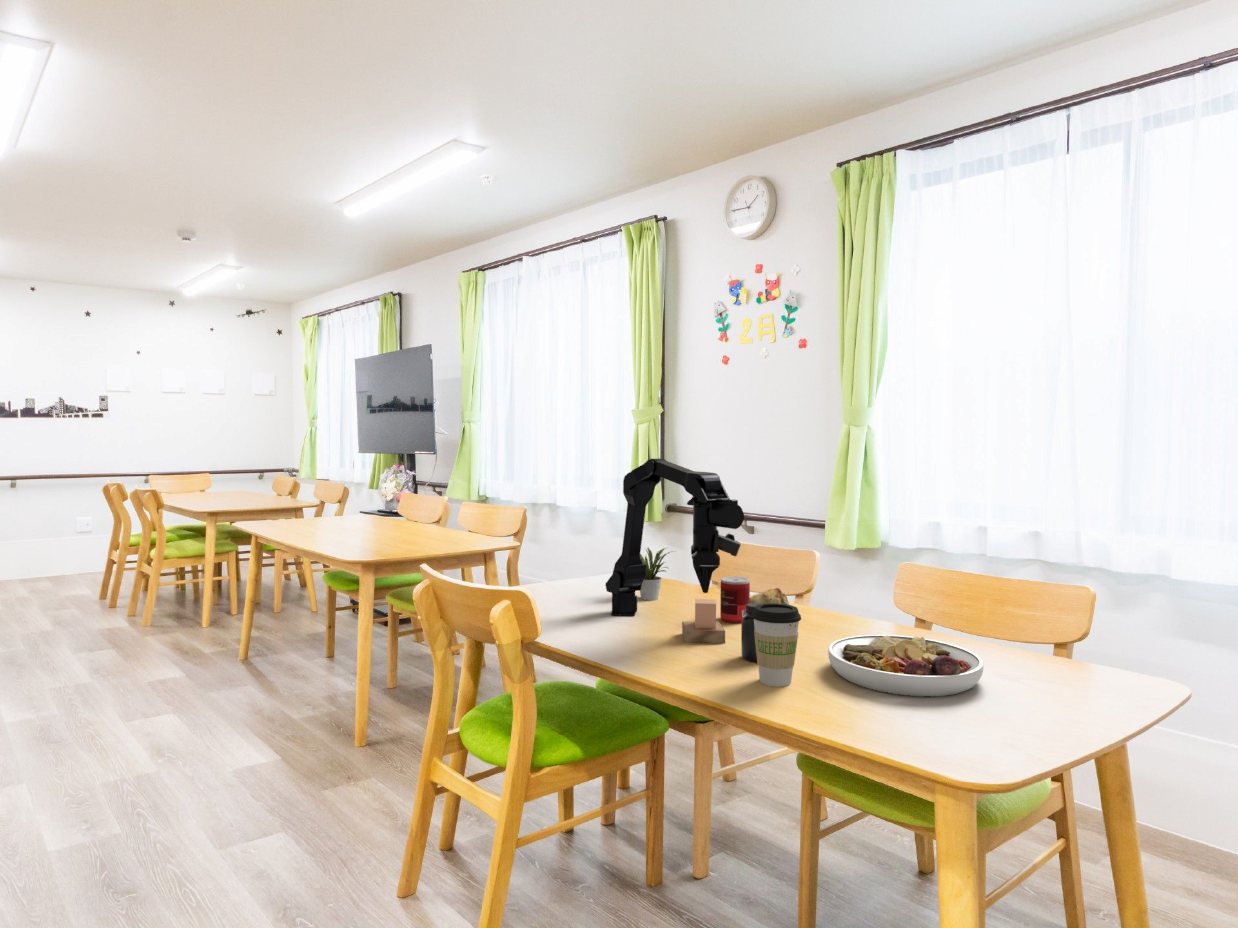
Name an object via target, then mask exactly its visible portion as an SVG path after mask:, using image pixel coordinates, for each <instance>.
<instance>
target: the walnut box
mask: <svg viewBox="0 0 1238 928" xmlns="http://www.w3.org/2000/svg"><path fill="white" fill-rule="evenodd" d="M681 622H682V624H681V625H682V626H681V627H682V628H681V634H682V636H683V638H684V640H685V642H686V643H687V645H688V644H690V645H694V644H695V645H696V644H700V645H701V644H726V630H725V628H724V626H722V624H721V623H720V621H718V620H716V629H710V628H695V621H681Z"/></svg>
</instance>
